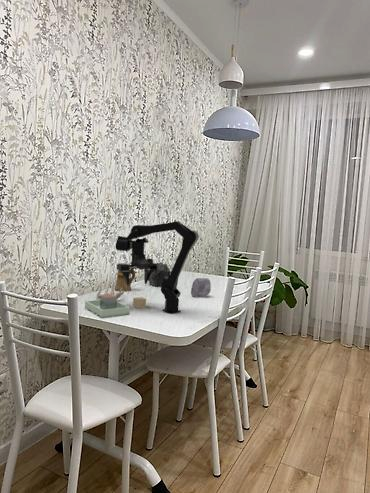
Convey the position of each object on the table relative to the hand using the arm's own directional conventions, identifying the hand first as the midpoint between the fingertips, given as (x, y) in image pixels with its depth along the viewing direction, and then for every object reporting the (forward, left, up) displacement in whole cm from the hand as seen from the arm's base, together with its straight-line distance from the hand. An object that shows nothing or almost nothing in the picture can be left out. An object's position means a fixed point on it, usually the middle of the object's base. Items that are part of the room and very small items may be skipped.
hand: (136, 284), depth 181 cm
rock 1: (+41, -39, -11) cm, 58 cm away
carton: (+1, -2, -11) cm, 11 cm away
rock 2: (+6, -44, -11) cm, 46 cm away
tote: (-1, +16, -11) cm, 19 cm away
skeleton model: (+20, +4, -11) cm, 23 cm away
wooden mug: (+36, -14, -11) cm, 40 cm away
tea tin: (-2, +15, -10) cm, 18 cm away
